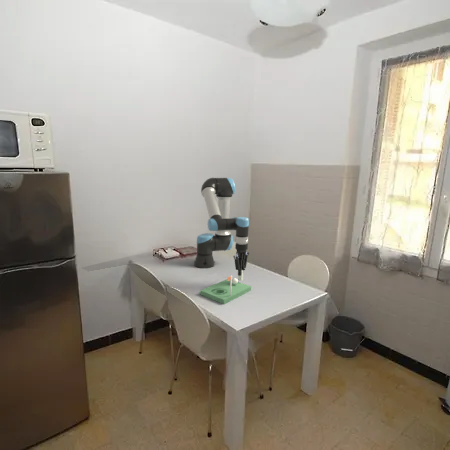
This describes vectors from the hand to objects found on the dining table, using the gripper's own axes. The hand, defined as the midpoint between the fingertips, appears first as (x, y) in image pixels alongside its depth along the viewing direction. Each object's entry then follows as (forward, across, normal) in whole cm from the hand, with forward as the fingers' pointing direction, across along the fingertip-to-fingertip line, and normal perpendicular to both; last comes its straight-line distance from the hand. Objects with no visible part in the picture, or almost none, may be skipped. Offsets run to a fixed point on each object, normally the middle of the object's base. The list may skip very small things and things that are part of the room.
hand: (240, 280), depth 183 cm
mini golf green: (+4, -14, 0) cm, 14 cm away
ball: (-1, -6, 0) cm, 6 cm away
